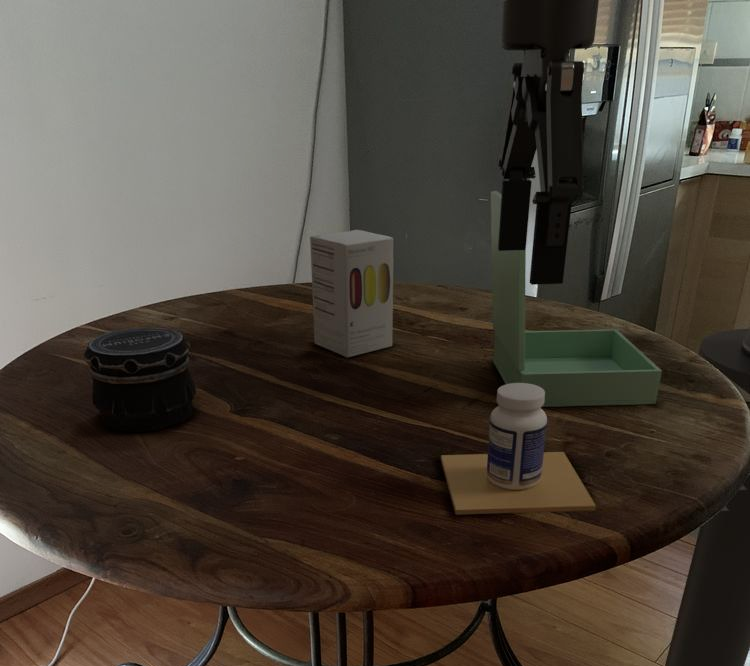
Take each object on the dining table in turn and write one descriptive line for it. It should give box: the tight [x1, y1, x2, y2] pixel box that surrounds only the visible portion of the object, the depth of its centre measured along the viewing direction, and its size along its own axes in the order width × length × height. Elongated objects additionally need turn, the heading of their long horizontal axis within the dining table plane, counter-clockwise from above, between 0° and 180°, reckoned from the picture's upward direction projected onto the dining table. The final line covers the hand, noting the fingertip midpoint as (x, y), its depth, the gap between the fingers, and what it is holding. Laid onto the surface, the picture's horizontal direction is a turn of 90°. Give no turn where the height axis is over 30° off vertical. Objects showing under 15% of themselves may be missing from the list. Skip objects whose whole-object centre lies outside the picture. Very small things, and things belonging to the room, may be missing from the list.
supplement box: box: [309, 229, 394, 358], centre depth 114 cm, size 10×9×17 cm
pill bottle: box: [487, 383, 548, 490], centre depth 75 cm, size 6×6×10 cm
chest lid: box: [490, 190, 527, 371], centre depth 96 cm, size 19×18×1 cm
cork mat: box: [440, 451, 597, 516], centre depth 78 cm, size 14×12×1 cm
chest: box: [492, 328, 663, 408], centre depth 102 cm, size 18×18×5 cm
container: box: [83, 326, 197, 433], centre depth 92 cm, size 13×13×10 cm
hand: (527, 265), depth 69 cm, fingers open, 13 cm apart
